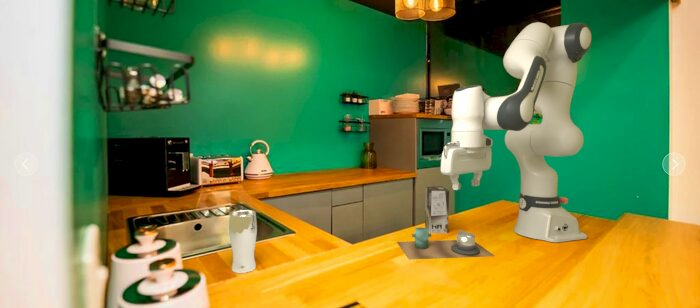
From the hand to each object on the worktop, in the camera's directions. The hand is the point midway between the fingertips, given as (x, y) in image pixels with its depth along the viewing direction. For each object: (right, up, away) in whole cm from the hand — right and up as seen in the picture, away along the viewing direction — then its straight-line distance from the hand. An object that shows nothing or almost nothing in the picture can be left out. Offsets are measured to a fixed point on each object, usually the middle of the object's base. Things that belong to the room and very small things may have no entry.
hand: (466, 187), depth 97 cm
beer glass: (-63, -21, -10) cm, 67 cm away
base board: (-7, -20, +1) cm, 21 cm away
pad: (-1, -19, 0) cm, 19 cm away
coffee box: (-4, -19, +20) cm, 28 cm away
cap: (0, -18, 0) cm, 18 cm away
